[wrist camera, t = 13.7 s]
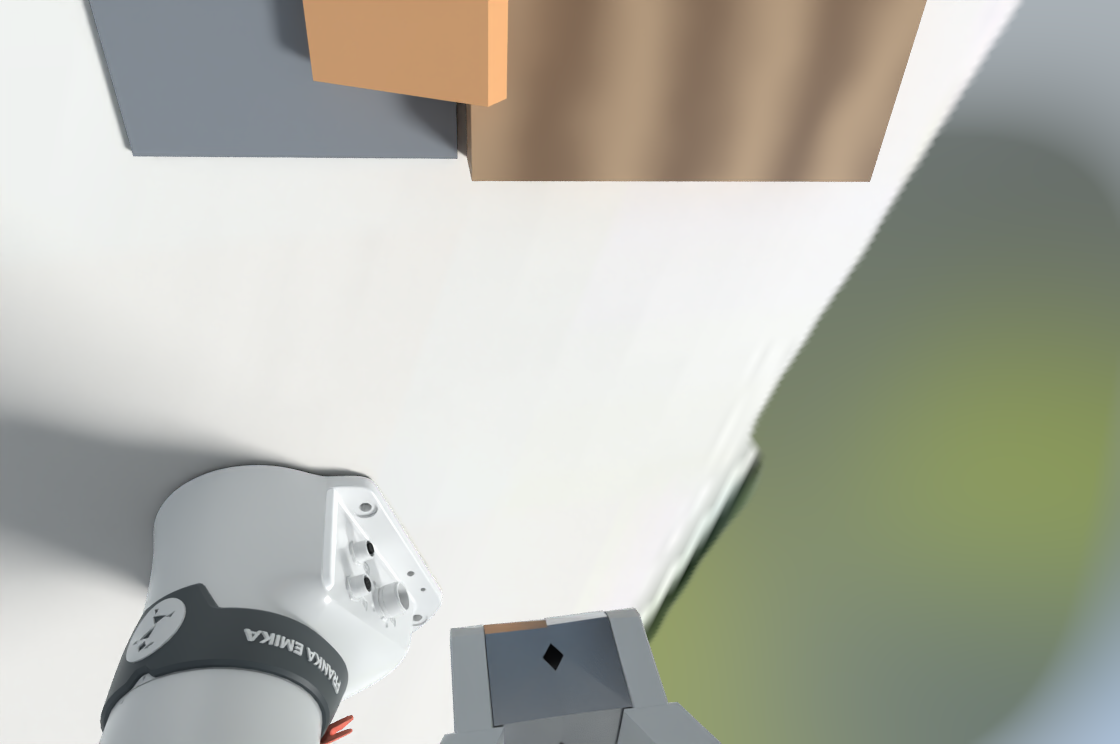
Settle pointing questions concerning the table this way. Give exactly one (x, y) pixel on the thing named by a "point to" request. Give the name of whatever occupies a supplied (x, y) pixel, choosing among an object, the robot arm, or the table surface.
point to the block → (412, 47)
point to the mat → (250, 87)
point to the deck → (694, 90)
